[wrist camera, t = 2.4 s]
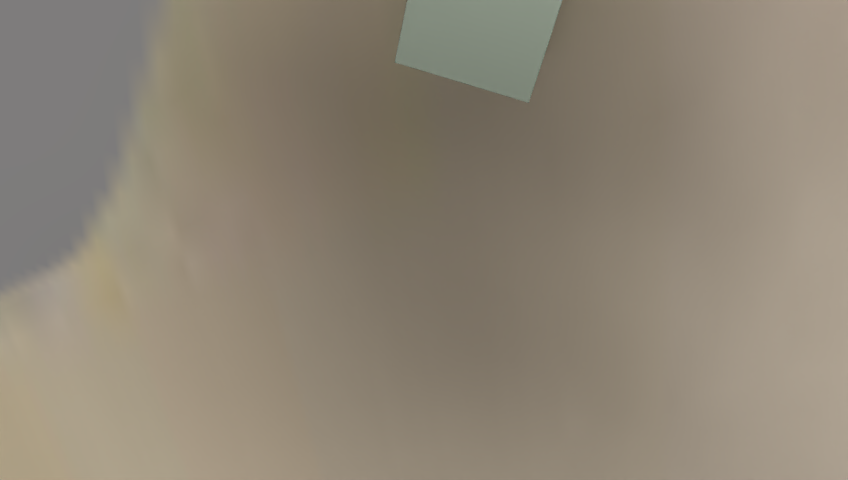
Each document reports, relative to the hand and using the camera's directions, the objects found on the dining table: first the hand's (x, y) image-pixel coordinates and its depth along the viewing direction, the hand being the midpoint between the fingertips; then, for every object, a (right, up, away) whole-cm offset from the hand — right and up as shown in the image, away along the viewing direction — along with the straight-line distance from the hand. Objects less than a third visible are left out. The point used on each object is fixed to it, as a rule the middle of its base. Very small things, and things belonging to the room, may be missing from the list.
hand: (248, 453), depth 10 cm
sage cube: (+5, +12, +17) cm, 21 cm away
